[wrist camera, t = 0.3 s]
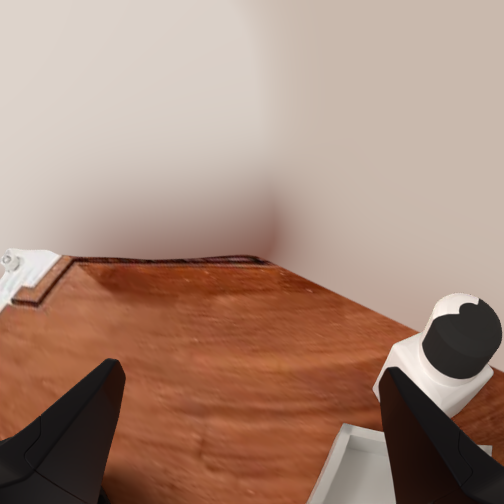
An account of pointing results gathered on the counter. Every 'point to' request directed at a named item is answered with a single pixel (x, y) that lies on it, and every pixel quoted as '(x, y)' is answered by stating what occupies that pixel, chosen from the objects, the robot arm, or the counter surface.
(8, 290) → the counter surface
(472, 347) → the medicine bottle
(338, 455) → the tote
